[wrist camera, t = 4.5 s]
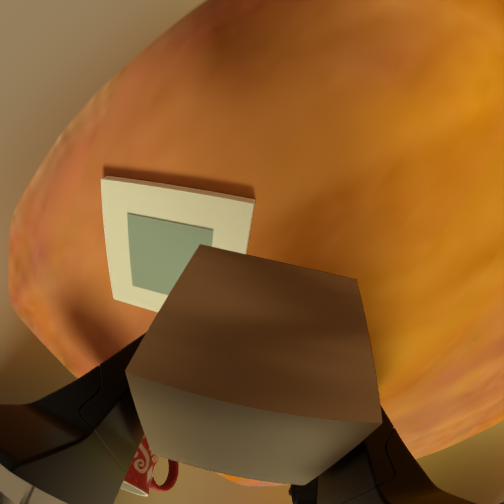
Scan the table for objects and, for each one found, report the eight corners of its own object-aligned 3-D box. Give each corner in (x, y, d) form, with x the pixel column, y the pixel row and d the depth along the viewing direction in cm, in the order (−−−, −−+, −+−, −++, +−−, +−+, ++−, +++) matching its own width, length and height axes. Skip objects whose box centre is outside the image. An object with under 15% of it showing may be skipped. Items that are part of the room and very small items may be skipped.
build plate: (255, 199, 19) (253, 204, 18) (234, 324, 24) (232, 332, 23) (106, 175, 19) (99, 179, 18) (117, 293, 25) (113, 299, 24)
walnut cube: (356, 279, 9) (382, 423, 5) (310, 374, 11) (304, 485, 7) (200, 243, 9) (124, 370, 5) (192, 348, 12) (152, 453, 7)
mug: (106, 378, 34) (64, 457, 22) (143, 368, 30) (96, 466, 19) (169, 427, 38) (142, 500, 26) (212, 422, 34) (188, 510, 23)
